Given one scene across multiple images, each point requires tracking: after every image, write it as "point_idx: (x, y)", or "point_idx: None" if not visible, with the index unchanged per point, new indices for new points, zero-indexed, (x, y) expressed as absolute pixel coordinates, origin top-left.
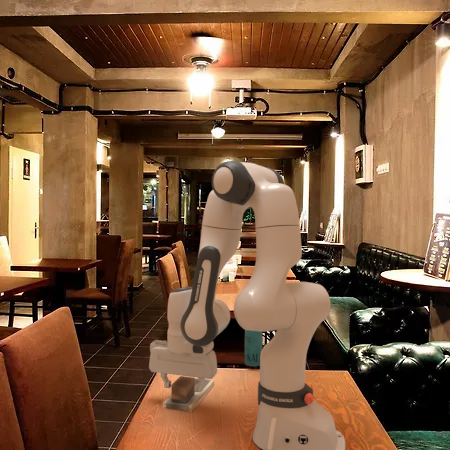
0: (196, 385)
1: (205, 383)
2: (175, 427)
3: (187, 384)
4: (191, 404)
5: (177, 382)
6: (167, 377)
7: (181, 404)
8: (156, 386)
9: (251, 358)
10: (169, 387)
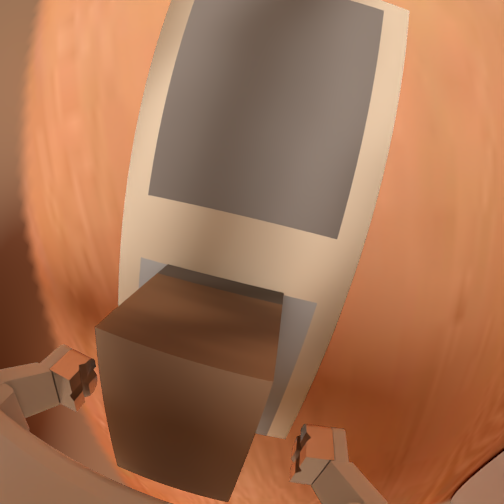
0: (306, 476)
1: (352, 64)
2: (238, 486)
3: (228, 483)
4: (279, 421)
5: (135, 447)
6: (30, 376)
7: None
8: (31, 118)
9: None
10: (94, 380)
